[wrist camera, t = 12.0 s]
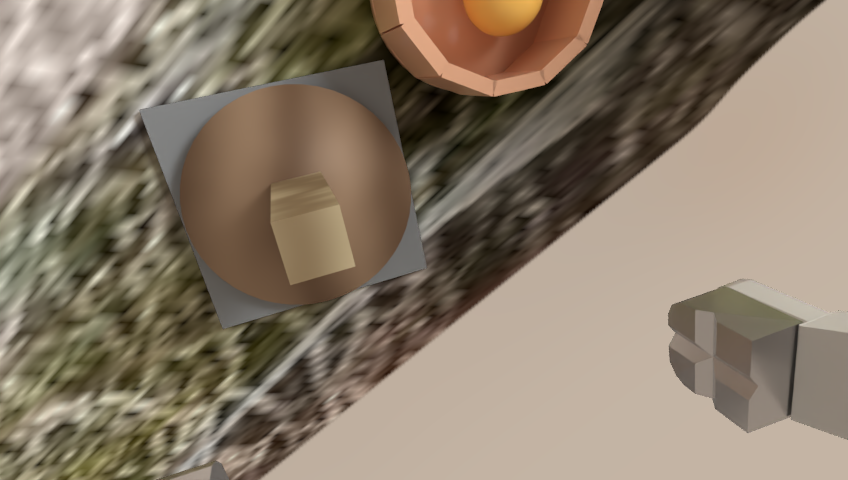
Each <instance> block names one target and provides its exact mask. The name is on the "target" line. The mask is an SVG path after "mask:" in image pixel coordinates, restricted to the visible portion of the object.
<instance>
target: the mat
mask: <svg viewBox="0 0 848 480" xmlns="http://www.w3.org/2000/svg"><path fill="white" fill-rule="evenodd" d="M284 84H304V85H311V86H319V87H322V88H326V89H330V90H333V91H336V92H338V93H341V94H343V95H345V96H348V97H350V98H351V99H353V100H355V101H357V102H358V103H360V104H362V105H363V106H364V107H365V108H367V109H368V110H369V111H371V112H372V113H373V114H374V115H375V116H376V117H377V118H378V119H379V120H380V121H381V122H382V123H383V124H384V125H385V126H386V127H387V129H388V130H389V131H390V133H391V134H392V135H393V137H394V139H395V140H396V142H397V144H398V145H399V147H400V149H401V152H402V154H403V150H402V145H401V140H400V136H399V131H398V126H397V121H396V116H395V112H394V107H393V102H392V97H391V92H390V87H389V83H388V78H387V73H386V68H385V63H384V60H380V61H375V62H370V63H365V64H360V65H356V66H351V67H346V68H341V69H336V70H331V71H326V72H321V73H317V74H312V75H307V76H302V77H297V78H292V79H287V80H282V81H278V82H273V83H268V84H263V85H258V86H253V87H248V88H243V89H239V90H234V91H229V92H224V93H219V94H214V95H209V96H204V97H200V98H195V99H190V100H185V101H180V102H175V103H170V104H165V105H160V106H156V107H151V108H146V109H141V110H139V111H140V114H141V116H142V119H143V121H144V124H145V127H146V129H147V132H148V135H149V137H150V140H151V142H152V145H153V148H154V150H155V153H156V155H157V158H158V161H159V163H160V166H161V169H162V171H163V174H164V176H165V179H166V182H167V184H168V187H169V189H170V192H171V195H172V197H173V200H174V203H175V205H176V208H177V210H178V213H179V216H180V218H181V221H182V223H183V226H184V229H185V231H186V227H185V224H184V221H183V218H182V212H181V205H180V182H181V175H182V169H183V166H184V163H185V159H186V156H187V154H188V152H189V149H190V147H191V145H192V143H193V141H194V140H195V138H196V137H197V135H198V134H199V132H200V131H201V129H202V128H203V127H204V125H205V124H206V123H207V122H208V121H209V120H210V119H211V118H212V117H213V116H214V115H215V114H216V113H217V112H218V111H220V110H221V109H222V108H223V107H225V106H226V105H227V104H229V103H231V102H232V101H234V100H236V99H237V98H239V97H241V96H243V95H246V94H248V93H250V92H253V91H255V90H259V89H262V88H266V87H270V86H277V85H284ZM403 156H404V155H403ZM186 234H187V236H188V239H189V242H190V244H191V247H192V250H193V252H194V255H195V257H196V260H197V263H198V265H199V268H200V270H201V273H202V276H203V278H204V281H205V284H206V286H207V289H208V291H209V294H210V297H211V299H212V302H213V304H214V307H215V310H216V312H217V315H218V318H219V320H220V323H221V325H222V328H223V329H225V328H228V327H231V326H235V325H238V324H241V323H245V322H248V321H251V320H255V319H258V318H262V317H265V316H268V315H272V314H275V313H278V312H282V311H285V310H288V309H292V308H295V307H298V306H302V305H289V304H280V303H274V302H269V301H265V300H261V299H258V298H256V297H253V296H250V295H248V294H246V293H244V292H242V291H240V290H238V289H236V288H234V287H233V286H231V285H230V284H228V283H227V282H226V281H224V280H223V279H221V278H220V277H219V276H218V275H217V274H216V273H215V272H214V271H213V270H211V269H210V267H209V266H208V265H207V264H206V263H205V262H204V260H203V259H202V258H201V257H200V255H199V253H198V252H197V250H196V249H195V247H194V246H193V244H192V242H191V240H190V237H189V235H188V233H187V231H186ZM425 268H427V266H426V261H425V256H424V251H423V246H422V242H421V237H420V232H419V227H418V222H417V217H416V213H415V208H414V203H413V198H412V193H411V206H410V214H409V219H408V222H407V226H406V229H405V232H404V235H403V237H402V240H401V242H400V243H399V245H398V247H397V249H396V251H395V252H394V254H393V255H392V257H391V258H390V259H389V261H388V262H387V263H386V264H385V266H384V267H383V268H382V269H381V270H380V271H379V272H378V273H377V274H376V275H375V276H373V277H372V278H371V279H370V280H369V281H367V282H366V283H364V284H363V285H361V286H360V287H358V288H362V287H365V286H368V285H372V284H375V283H378V282H382V281H385V280H389V279H392V278H395V277H399V276H402V275H405V274H409V273H412V272H415V271H419V270H422V269H425ZM358 288H357V289H358Z"/></svg>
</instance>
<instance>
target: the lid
mask: <svg viewBox="0 0 848 480" xmlns="http://www.w3.org/2000/svg"><path fill="white" fill-rule="evenodd" d="M180 205H181V212H182V218H183V221H184V224H185V227H186V231H187V233H188V235H189V237H190V240H191V242H192V244H193V246H194V247H195V249H196V250H197V252H198V253H199V255H200V257H201V258H202V259H203V260H204V262H205V263H206V264H207V265H208V266H209V267H210V269H211V270H213V271H214V272H215V273H216V274H217V275H218V276H219V277H220V278H221V279H223V280H224V281H226V282H227V283H228V284H230V285H231V286H233V287H234V288H236V289H238V290H240V291H242V292H244V293H246V294H248V295H250V296H253V297H256V298H258V299H261V300H265V301H269V302H274V303H280V304H289V305H305V304H313V303H320V302H324V301H328V300H332V299H335V298H337V297H340V296H343V295H345V294H347V293H349V292H351V291H353V290H355V289H357V288H358V287H360V286H361V285H363V284H364V283H366V282H367V281H369V280H370V279H371V278H372V277H373V276H375V275H376V274H377V273H378V272H379V271H380V270H381V269H382V268H383V267H384V266H385V264H386V263H387V262H388V261H389V259H390V258H391V257H392V255H393V254H394V252H395V251H396V249H397V247H398V245H399V243H400V242H401V240H402V237H403V235H404V232H405V229H406V226H407V222H408V219H409V214H410V206H411V185H410V178H409V172H408V169H407V165H406V161H405V159H404V156H403V154H402V152H401V149H400V147H399V145H398V144H397V142H396V140H395V139H394V137H393V135H392V134H391V133H390V131H389V130H388V129H387V127H386V126H385V125H384V124H383V123H382V122H381V121H380V120H379V119H378V118H377V117H376V116H375V115H374V114H373V113H372V112H371V111H369V110H368V109H367V108H365V107H364V106H363V105H362V104H360V103H358V102H357V101H355V100H353V99H351V98H350V97H348V96H345V95H343V94H341V93H338V92H336V91H333V90H330V89H326V88H322V87H319V86H311V85H304V84H284V85H277V86H270V87H266V88H262V89H259V90H255V91H253V92H250V93H248V94H246V95H243V96H241V97H239V98H237V99H236V100H234V101H232V102H231V103H229V104H227V105H226V106H225V107H223V108H222V109H221V110H220V111H218V112H217V113H216V114H215V115H214V116H213V117H212V118H211V119H210V120H209V121H208V122H207V123H206V124H205V125H204V127H203V128H202V129H201V131H200V132H199V134H198V135H197V137H196V138H195V140H194V141H193V143H192V145H191V147H190V149H189V152H188V154H187V156H186V159H185V163H184V166H183V169H182V175H181V182H180Z"/></svg>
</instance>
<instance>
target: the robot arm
mask: <svg viewBox="0 0 848 480" xmlns="http://www.w3.org/2000/svg"><path fill="white" fill-rule="evenodd" d="M668 317H669V319H668V325H669V326H670V327H671V328H672V330H673V331H674V332H675V335H674V337H673V339H672V341H671V343H670V345H669V356H670V363H671V365H672V367H673V369H674V371H675V373H676V376H677V377H678V378H679V379H680V381H681V382H682V383H683V384H684V385H685V386H686V387H688V388H689V389H690V390H691V391H692V392H694V393H695V394H699V395H702V396H706V397H710V398H712V399H713V403H714V406H715V409H716V410H718V411H719V412H720V413H722V414H723V415H724V416H725V417H727V418H728V419H729V420H731V421H732V422H733V423H735V424H736V425H737V426H739V427H740V428H742V429H743V430H744V431H746V432H747V433H749V432H752V431H755V430H757V429H760V428H762V427H765V426H768V425H770V424H773V423H776V422H778V421H781V420H784V419H786V418H789V417H791V420H793V421H796V422H799V423H802V424H804V425H807V426H810V427H813V428H816V429H818V430H821V431H824V432H827V433H830V434H833V435H836V436H838V437H841V438H844V439H847V440H848V312H847V311H839V310H838V311H835V312H832V313H830V312H828V311H825V310H823V309H820V308H818V307H816V306H813V305H811V304H808V303H806V302H804V301H801V300H799V299H796V298H794V297H792V296H789V295H787V294H785V293H782V292H780V291H778V290H775V289H773V288H770V287H768V286H765V285H763V284H761V283H758V282H756V281H754V280H750V279H740V280H737V281H735V282H732V283H729V284H727V285H724V286H721V287H719V288H718V289H716V290H713V291H710V292H707V293H704V294H702V295H699V296H696V297H693V298H690V299H687V300H684V301H681V302H679V303H676V304H673V305H672V306H671V308H670V311H669V313H668ZM157 480H229V478H228V476H227V474H226V472H225V470H224V468H223V466H222V464H221V463H219V462H217V461H213V462H210V463H207V464H204V465H201V466H198V467H195V468H192V469H188V470H185V471H182V472H179V473H176V474H173V475H170V476H167V477H163V478H160V479H157Z"/></svg>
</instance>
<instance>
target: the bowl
mask: <svg viewBox="0 0 848 480" xmlns="http://www.w3.org/2000/svg"><path fill="white" fill-rule="evenodd" d="M603 1H604V0H370V6H371V10H372V14H373V18H374V22H375V24H376V27H377V29H378V32H379V34H380V36H381V38H382V40H383V41H384V43H385V45H386V47H387V48H388V50H389V51H390V53H391V54H392V55H393V57H394V58H395V59H396V60H397V61H398V62H399V63H400V64H401V66H402V67H403V68H405V69H406V70H407V71H408V72H409V73H411V74H412V75H413V76H414V77H416V79H419V80H421V81H423V82H425V83H427V84H429V85H431V86H434V87H437V88H440V89H444V90H449V91H452V92H454V93H457V94H460V95H472V96H490V97H495V96H500V95H504V94H508V93H513V92H517V91H521V90H526V89H530V88H534V87H539V86H543V85H545V84H547V83H548V82H549V81H550V80H551V79H553V78H554V77H555V76H556V75H557V74H558V73H559V72H560V71H561V70H562V69H563V68H564V67H565V66H566V65H567V64H568V63H569V62H570V61H571V60H572V59H573V58H574V57H575V56H576V55H577V54H579V53H580V52H581V51H582V50H583V49H584V48H585V47H586V46H587V45H586V44H588V42H589V39H590V37H591V34H592V31H593V29H594V26H595V23H596V20H597V18H598V15H599V12H600V10H601V7H602V4H603Z"/></svg>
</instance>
